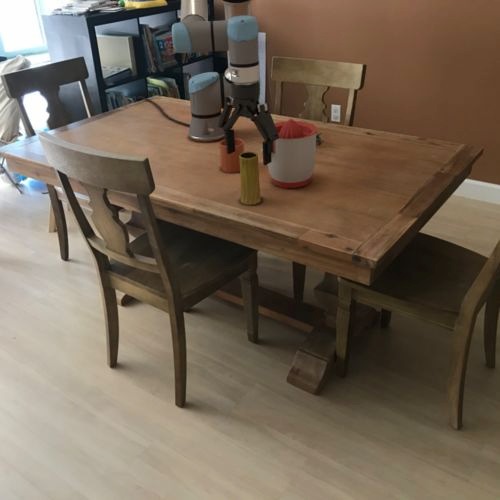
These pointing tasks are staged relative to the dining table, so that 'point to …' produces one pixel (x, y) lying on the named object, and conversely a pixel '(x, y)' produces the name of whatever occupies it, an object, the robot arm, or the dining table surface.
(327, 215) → the dining table surface
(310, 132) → the citrus juicer
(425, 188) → the dining table surface
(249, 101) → the robot arm
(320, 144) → the rhino figurine
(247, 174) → the vase
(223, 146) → the terracotta cup
